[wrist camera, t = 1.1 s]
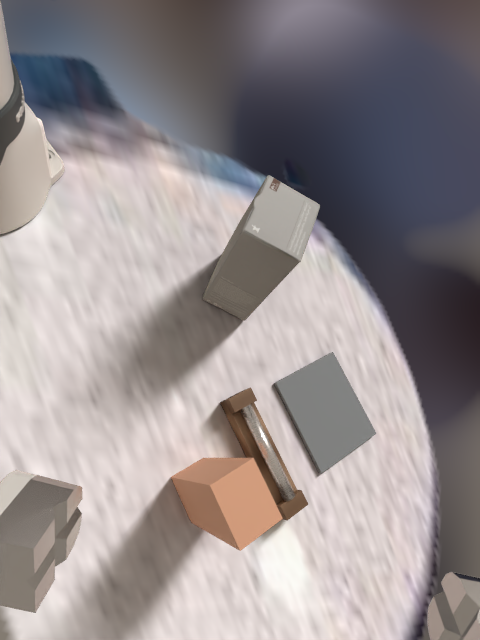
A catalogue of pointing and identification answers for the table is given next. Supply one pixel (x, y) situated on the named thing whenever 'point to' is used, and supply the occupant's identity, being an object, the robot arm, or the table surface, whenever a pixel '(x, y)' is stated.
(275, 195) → the skincare box
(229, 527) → the orange rectangular block
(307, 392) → the mat
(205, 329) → the table surface
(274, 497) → the bar
